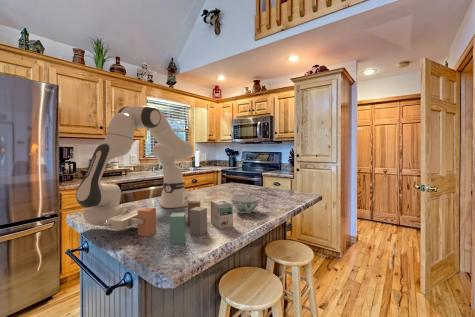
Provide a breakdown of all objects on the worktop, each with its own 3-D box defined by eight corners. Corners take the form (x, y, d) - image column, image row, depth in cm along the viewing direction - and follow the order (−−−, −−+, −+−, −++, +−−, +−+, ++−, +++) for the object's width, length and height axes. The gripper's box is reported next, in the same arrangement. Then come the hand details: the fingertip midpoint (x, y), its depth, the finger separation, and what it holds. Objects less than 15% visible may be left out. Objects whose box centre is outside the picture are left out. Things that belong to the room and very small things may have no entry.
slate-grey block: (197, 229, 100) (196, 206, 100) (207, 231, 98) (206, 207, 98) (190, 233, 95) (189, 209, 95) (200, 235, 93) (200, 210, 93)
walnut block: (189, 221, 112) (189, 200, 111) (200, 221, 112) (200, 200, 111) (187, 225, 107) (187, 203, 106) (198, 224, 107) (198, 203, 106)
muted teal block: (172, 238, 90) (172, 212, 90) (185, 238, 91) (185, 212, 90) (169, 243, 85) (169, 216, 85) (183, 243, 86) (183, 216, 85)
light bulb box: (233, 227, 104) (233, 202, 104) (219, 229, 101) (219, 204, 100) (223, 220, 113) (222, 198, 113) (210, 222, 110) (210, 199, 109)
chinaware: (244, 217, 118) (244, 202, 117) (226, 211, 129) (226, 197, 129) (265, 212, 127) (265, 198, 127) (246, 207, 139) (246, 194, 138)
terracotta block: (145, 230, 99) (145, 207, 98) (156, 231, 98) (155, 208, 97) (137, 235, 94) (137, 210, 94) (148, 236, 93) (148, 211, 92)
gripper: (99, 216, 89) (131, 218, 85) (135, 203, 108) (162, 205, 105) (100, 232, 89) (131, 235, 85) (136, 217, 109) (162, 219, 105)
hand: (148, 219), depth 95 cm, fingers closed on terracotta block, 5 cm apart
